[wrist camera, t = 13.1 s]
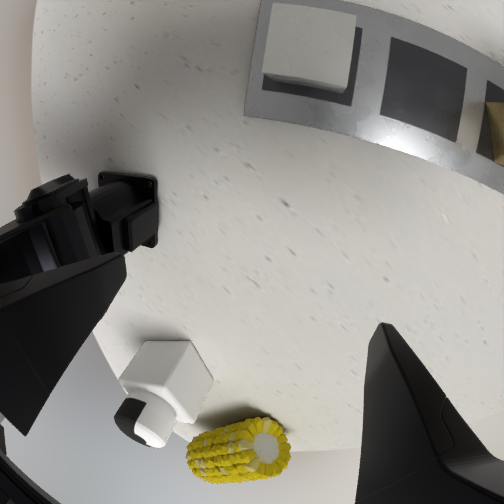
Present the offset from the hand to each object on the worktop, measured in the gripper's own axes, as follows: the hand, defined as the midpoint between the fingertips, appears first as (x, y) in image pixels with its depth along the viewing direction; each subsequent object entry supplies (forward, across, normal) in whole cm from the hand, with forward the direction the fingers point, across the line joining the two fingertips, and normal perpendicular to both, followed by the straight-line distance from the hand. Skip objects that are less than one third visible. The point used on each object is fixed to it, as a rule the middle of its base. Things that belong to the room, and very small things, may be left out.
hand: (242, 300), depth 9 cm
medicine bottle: (+13, +9, +23) cm, 28 cm away
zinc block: (+12, 0, -10) cm, 16 cm away
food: (+13, -1, +36) cm, 38 cm away
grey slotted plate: (+13, -9, -10) cm, 19 cm away
